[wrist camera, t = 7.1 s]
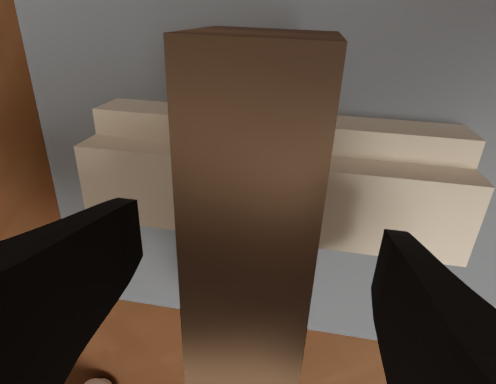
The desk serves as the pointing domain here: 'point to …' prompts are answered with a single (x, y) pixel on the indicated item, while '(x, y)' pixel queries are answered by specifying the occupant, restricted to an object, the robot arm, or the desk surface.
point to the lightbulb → (98, 381)
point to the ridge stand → (345, 139)
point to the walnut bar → (249, 192)
